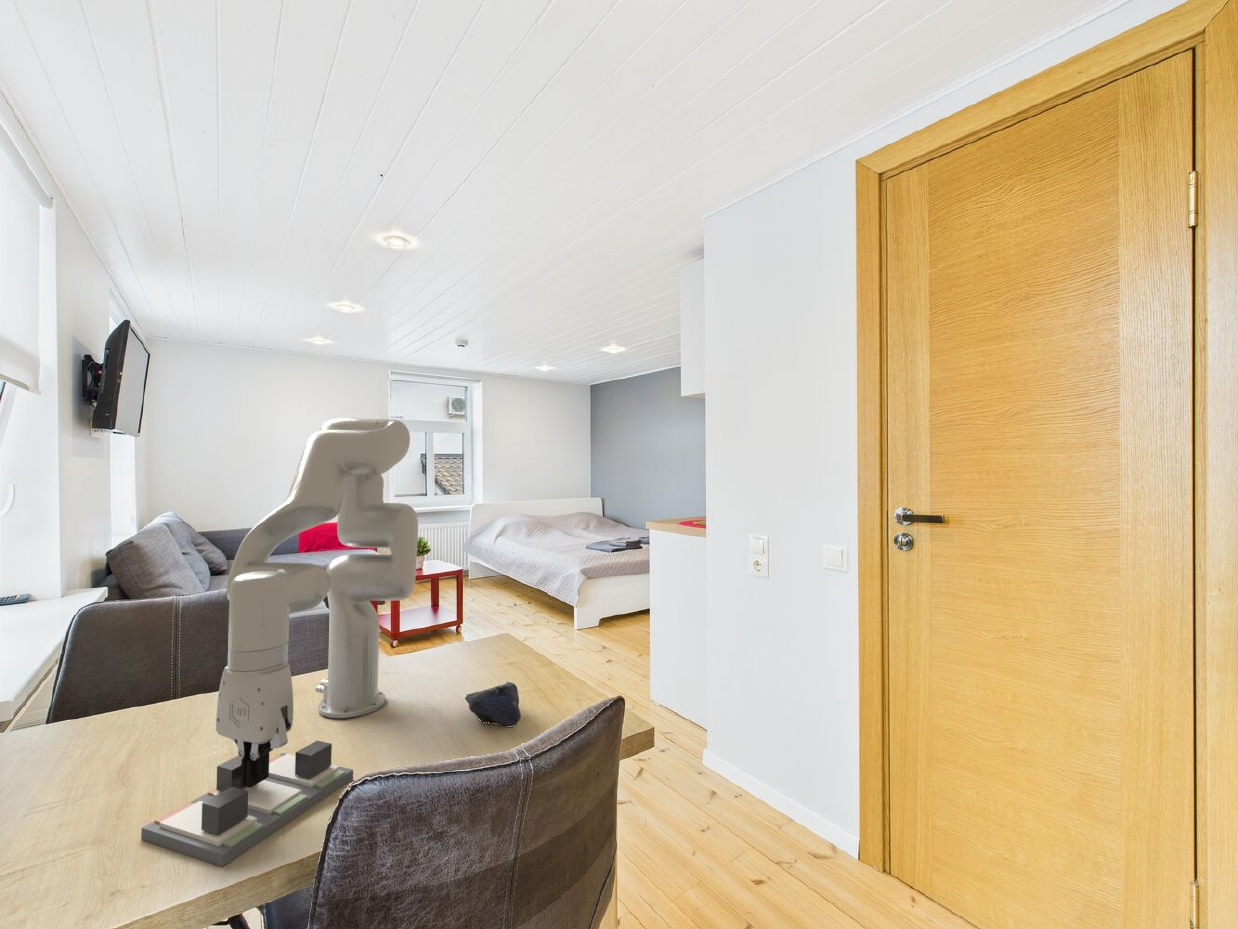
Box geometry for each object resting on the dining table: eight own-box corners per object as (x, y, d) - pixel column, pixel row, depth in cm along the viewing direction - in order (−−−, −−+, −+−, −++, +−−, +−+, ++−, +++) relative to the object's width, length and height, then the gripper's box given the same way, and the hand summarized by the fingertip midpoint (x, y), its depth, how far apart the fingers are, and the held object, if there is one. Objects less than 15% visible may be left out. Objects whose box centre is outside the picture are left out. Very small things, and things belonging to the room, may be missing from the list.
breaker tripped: (216, 790, 81) (217, 766, 81) (242, 776, 85) (243, 753, 85) (231, 794, 80) (231, 770, 80) (257, 780, 84) (257, 756, 84)
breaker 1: (201, 830, 72) (202, 803, 72) (231, 812, 76) (232, 786, 76) (217, 835, 71) (218, 807, 71) (247, 817, 75) (248, 791, 75)
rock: (480, 743, 102) (531, 721, 106) (469, 697, 104) (520, 678, 108) (469, 735, 115) (515, 717, 120) (459, 695, 117) (505, 678, 121)
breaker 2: (295, 775, 86) (295, 752, 86) (316, 762, 89) (317, 740, 89) (309, 778, 85) (310, 755, 85) (331, 765, 88) (331, 743, 88)
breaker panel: (141, 839, 74) (141, 823, 74) (282, 761, 94) (282, 749, 94) (222, 866, 69) (222, 850, 69) (353, 779, 89) (353, 766, 89)
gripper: (195, 658, 80) (191, 786, 80) (275, 671, 76) (270, 806, 76) (244, 643, 88) (240, 760, 87) (319, 654, 83) (315, 778, 83)
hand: (254, 781), depth 82 cm, fingers closed
